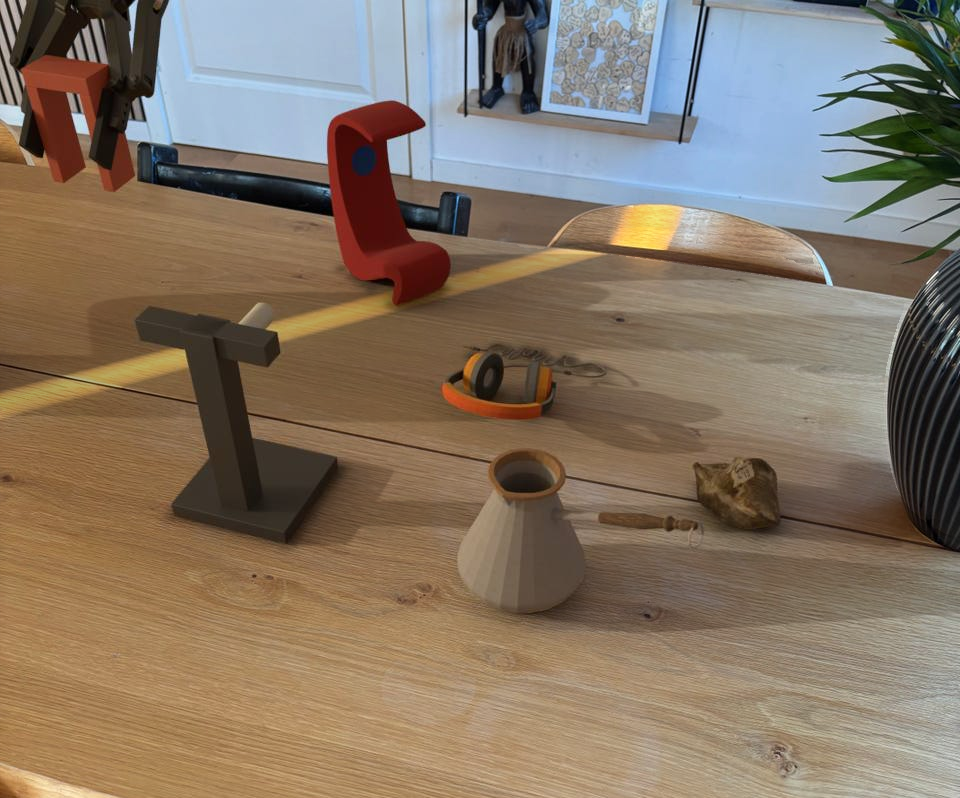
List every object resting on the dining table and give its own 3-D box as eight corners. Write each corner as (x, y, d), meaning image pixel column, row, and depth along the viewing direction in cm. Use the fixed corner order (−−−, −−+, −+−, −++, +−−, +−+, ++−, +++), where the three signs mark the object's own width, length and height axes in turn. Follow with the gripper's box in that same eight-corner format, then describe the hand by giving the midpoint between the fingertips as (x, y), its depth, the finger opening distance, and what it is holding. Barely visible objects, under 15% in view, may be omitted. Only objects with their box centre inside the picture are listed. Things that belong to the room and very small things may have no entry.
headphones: (616, 343, 114) (565, 403, 99) (608, 388, 117) (557, 453, 102) (477, 313, 118) (407, 366, 103) (473, 357, 121) (404, 415, 106)
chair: (336, 265, 131) (320, 100, 116) (382, 248, 134) (373, 85, 119) (404, 313, 123) (397, 143, 108) (452, 294, 126) (451, 126, 111)
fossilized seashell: (669, 468, 100) (713, 546, 95) (716, 420, 96) (764, 499, 91) (717, 482, 105) (761, 557, 100) (764, 437, 101) (812, 513, 96)
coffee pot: (431, 593, 91) (427, 460, 80) (503, 524, 98) (508, 392, 86) (639, 702, 83) (667, 571, 72) (702, 619, 90) (737, 486, 79)
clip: (53, 181, 103) (20, 68, 95) (76, 165, 105) (45, 54, 97) (114, 192, 101) (85, 78, 93) (135, 176, 104) (109, 64, 96)
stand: (173, 516, 98) (122, 330, 83) (235, 441, 106) (198, 259, 91) (286, 544, 95) (254, 358, 81) (340, 465, 103) (320, 283, 88)
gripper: (226, -48, 98) (176, 189, 100) (48, -70, 102) (3, 159, 104) (187, -102, 91) (134, 155, 93) (-3, -123, 95) (-50, 124, 97)
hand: (65, 157), depth 98 cm, fingers closed on clip, 7 cm apart
